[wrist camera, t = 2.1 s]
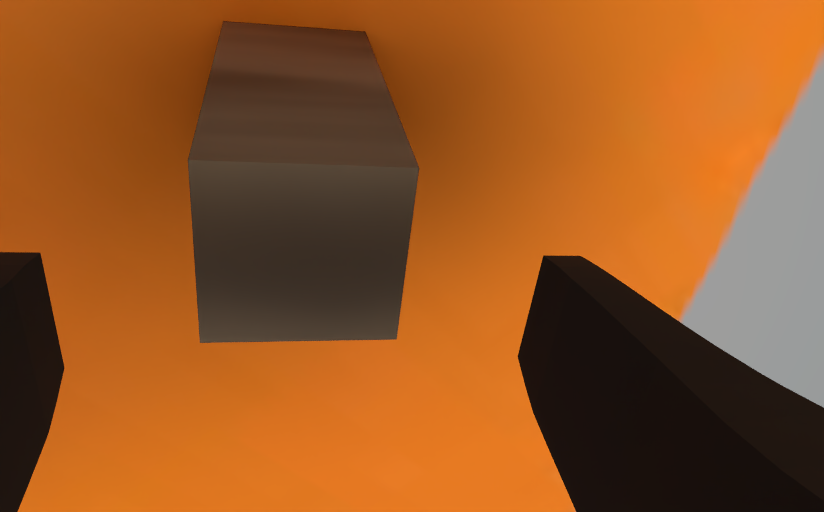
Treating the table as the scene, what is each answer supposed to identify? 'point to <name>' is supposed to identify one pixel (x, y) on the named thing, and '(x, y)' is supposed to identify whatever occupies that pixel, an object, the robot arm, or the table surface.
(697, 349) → the robot arm
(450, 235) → the table surface
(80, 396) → the table surface
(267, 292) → the walnut peg
